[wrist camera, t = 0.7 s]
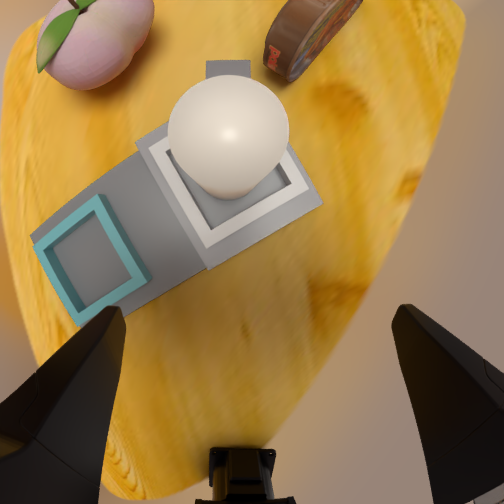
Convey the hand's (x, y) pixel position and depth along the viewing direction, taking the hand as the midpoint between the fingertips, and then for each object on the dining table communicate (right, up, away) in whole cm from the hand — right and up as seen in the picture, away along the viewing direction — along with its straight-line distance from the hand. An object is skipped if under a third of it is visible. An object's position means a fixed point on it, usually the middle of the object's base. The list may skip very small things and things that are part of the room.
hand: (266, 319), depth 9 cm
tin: (+5, +21, +12) cm, 25 cm away
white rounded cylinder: (-2, +7, +10) cm, 13 cm away
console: (-7, +5, +13) cm, 16 cm away
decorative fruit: (-12, +18, +11) cm, 25 cm away
